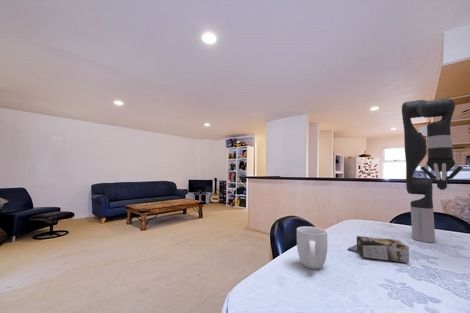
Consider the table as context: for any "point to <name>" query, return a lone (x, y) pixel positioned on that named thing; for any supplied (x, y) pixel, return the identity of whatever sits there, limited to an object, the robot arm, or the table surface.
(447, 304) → the table surface
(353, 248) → the mat
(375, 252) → the coffee box
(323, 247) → the mug
